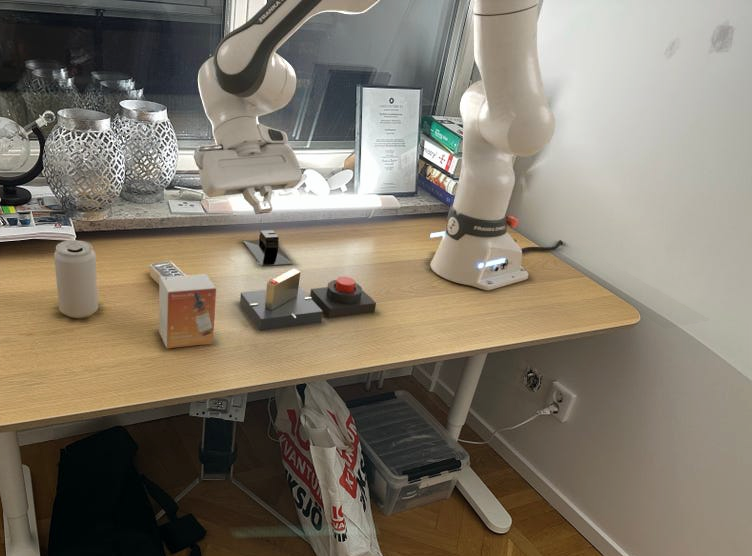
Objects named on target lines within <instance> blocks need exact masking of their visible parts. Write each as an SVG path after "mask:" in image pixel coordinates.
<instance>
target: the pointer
mask: <svg viewBox="0 0 752 556" xmlns="http://www.w3.org/2000/svg"><path fill="white" fill-rule="evenodd" d="M300 279H301V271H300V270H298V269H295V268H292V269H291V270H289V271H287V272H284V273H283V274H281V275H279V276H276V277H275V278H272V279H270V280H268V281H267V282H266V289H265V290H266V300H265V308H268V309H270V310H273V309H275V308H277V307H279V306H280V305H282V304H284V303H286V302H287V301H289V300H291V299H293V298H295V297H296V296H297V295H298V288H299V286H300Z"/></svg>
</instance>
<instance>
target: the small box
mask: <svg viewBox="0 0 752 556" xmlns="http://www.w3.org/2000/svg"><path fill="white" fill-rule="evenodd" d="M185 275H186V276H172V277H160V279H159V280H160V281H159V284H158V286H159V289H158V291H159V292H158V293H159V294H158V296H159V297H158V299H159V300H158V302H159V303H158V332H159V335H160V337H161V339H162V342H163V344H164V345H165V348H166V349H174V348H183V347H189V346H190V347H191V346H192V347H193V346H202V345H212V344H214V335H215V333H214V332H215V317H216V316H215V315H216V301H217V288H216V286H215V284H214V283H213V282H212V280H211V278H210V276H209V275H208V274H207V273H200V274H189V275H187V274H185Z"/></svg>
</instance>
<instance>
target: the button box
mask: <svg viewBox="0 0 752 556" xmlns="http://www.w3.org/2000/svg"><path fill="white" fill-rule="evenodd" d="M336 280H337V279H333V280H331V281H329V282H328V283H327V286H325V287H316V288H311V289H310V292H309V293H310V294H309V297H311V298H312V300H313V301H314V302H315V303H316V305H317V306H318V307H319V308H320V309H321V310H322V311H323V313H322V314H323V315H324V316H325V317H326V318H327V319H328V320H329V319H337V318H345V317H350V316H351V317H352V316H361V315H366V314H374V313H375V311H376V306H377V302H376V301H375V300H374V299H373V298H372V297H370V296H369V295H368V294H367V292H365V290H363V287H362V286H360V285H359V283H357V282H355V288H354V291H353V292H351V293H345V292H341V291H338V290H336V288H335V286H336Z"/></svg>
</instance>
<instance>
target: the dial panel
mask: <svg viewBox="0 0 752 556" xmlns="http://www.w3.org/2000/svg"><path fill="white" fill-rule="evenodd" d="M266 290H267V289H261V290H252V291H242V292H240V298H239V305H240V306H241V307H242V309H243V310H244V312H245V313H246V315H247V316H248V318H250V319H251V321H252V322H253V323H254V325H255V326H256V327H257V329H258V330H259V331H260V332H263V331H270V330H278V329H285V328H293V327H299V326H300V327H301V326H307V325H315V324H321V323H322V319H323V314H324V313H323V311H322V310H321V309H320V308H319V307H318V306H317V305H316V303H315V302H314V301H313V300H312V298H311V297H310V295H308V293H306V292H305V290H303V288H302V287H301V286H300V285H299V288H298V295H297V296H296V297H295V298H293V299H291V300H289V301H287V302H286V303H284V304H282V305H280V306H279V307H277V308H275V309H273V310H270V309H268V308H265V300H266Z"/></svg>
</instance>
